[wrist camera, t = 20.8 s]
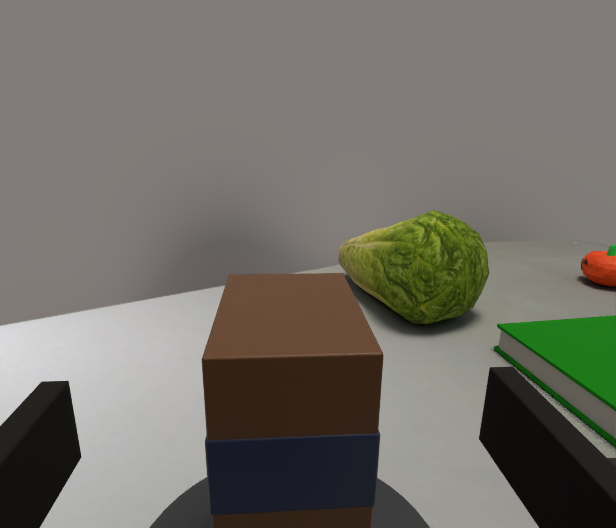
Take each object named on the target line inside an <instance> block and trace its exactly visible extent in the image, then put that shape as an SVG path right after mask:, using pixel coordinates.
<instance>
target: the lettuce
mask: <svg viewBox="0 0 616 528" xmlns="http://www.w3.org/2000/svg"><path fill="white" fill-rule="evenodd" d="M339 263H340V265H341V266H342V268H343V269H344V270H345V271H346V273H347V274H348V275H349V276H350V278H351V279H352V280H353V282H354V283H355V284H357V285H358V286H359V287H360V288H362V289H363V290H365V291H366V292H368V293H369V294H371V295H372V296H374V297H375V298H377V299H378V300H380V301H382V302H383V303H385V304H386V305H387V306H388V307H390V308H391V309H392V310H394V311H395V312H397V313H398V314H399V315H401V316H402V317H404V318H405V319H407V320H408V321H410V322H411V323H416V324H430V323H434V322H437V321H440V320H444V319H449V318H455V317H460V316H461V315H463V314H464V313H465V312H467V311H468V310H470V309H471V308H473V307H474V305H475V303H476V301H477V300H478V298H479V296H480V295H481V293H482V290H483V288H484V285H485V283H486V280H487V278H488V275H489V268H488V257H487V251H486V249H485V246H484V244H483V242H482V239H481V237H480V234H479V233H477V232H476V231H475V230H474V229H472V228H471V227H470V226H468V225H467V224H466V223H464V222H462V221H461V220H459V219H457V218H455V217H453V216H451V215H448V214H444V213H441V212H438V211H434V210H433V211H431V212H428V213H425V214H422V215H420V216H417V217H415V218H412V219H409V220H406V221H402V222H400V223H397V224H395V225H393V226H390V227H388V228H380V229H375V230H373V231H370V232H368V233H366V234H364V235H361V236H359V237H355V238H352V239H349V240H347V241H346V242H345V243H344V244H343V245H342V246H341V247H340V248H339Z"/></svg>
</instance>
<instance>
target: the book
mask: <svg viewBox="0 0 616 528" xmlns="http://www.w3.org/2000/svg"><path fill="white" fill-rule="evenodd" d="M497 327H498V328H499V329H501V335H500V341H499V346H494V350H495V351H497V352H498V353H499V354H500V355H502V356H503V357H504V358H505V359H507V360H508V361H509V362H510V363H512V364H513V365H514V366H515V367H517V368H518V369H519V370H520V371H522V372H523V373H524V374H525V375H527V376H528V377H529V378H530V379H532V380H533V381H534V382H535V383H537V384H538V385H539V386H540V387H542V388H543V389H544V390H545V391H547V392H548V393H549V394H550V395H551V396H553V397H554V398H555V399H556V400H558V401H559V402H560V403H561V404H563V405H564V406H565V407H566V408H568V409H569V410H570V411H571V412H573V413H574V414H575V415H576V416H578V417H579V418H580V419H581V420H583V421H584V422H585V423H586V424H588V425H589V426H590V427H591V428H593V429H594V430H595V431H596V432H598V433H599V434H600V435H601V436H603V437H604V438H605V439H606V440H608V441H609V442H610V443H611V444H612V445H614V446H615V447H616V316H604V317H590V318H576V319H562V320H548V321H535V322H521V323H507V324H497Z"/></svg>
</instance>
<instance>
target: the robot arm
mask: <svg viewBox="0 0 616 528" xmlns="http://www.w3.org/2000/svg"><path fill="white" fill-rule="evenodd" d="M479 440H480V441H481V443H482V444H483V445H484V447H485V448H486V450H487V451H488V453H489V454H490V456H491V457H492V459H493V460H494V462H495V463H496V465H497V466H498V468H499V469H500V471H501V472H502V473H503V475H504V476H505V478H506V479H507V481H508V482H509V484H510V485H511V487H512V488H513V490H514V491H515V493H516V494H517V496H518V497H519V498H520V500H521V501H522V503H523V504H524V506H525V507H526V509H527V510H528V512H529V513H530V515H531V516H532V518H533V519H534V521H535V522H536V524H537V525H538V526H539V528H616V458H606V457H605V456H604V455H603V454H602V453H601V452H600V451H599V450H598V449H597V448H596V447H595V446H594V445H593V444H592V443H591V442H590V441H589V440H588V439H587V438H586V437H585V436H583V435H582V434H581V433H580V432H579V431H578V430H577V429H576V428H575V427H574V426H573V425H572V424H571V423H570V422H569V421H568V420H567V419H566V418H565V417H564V416H563V415H562V414H561V413H560V412H559V411H558V410H557V409H556V408H555V407H554V406H552V405H551V404H550V403H549V402H548V401H547V400H546V399H545V398H544V397H543V396H542V395H541V394H540V393H539V392H538V391H537V390H536V389H535V388H534V387H533V386H532V385H531V384H530V383H529V382H528V381H527V380H526V379H525V378H524V377H523V376H521V375H520V374H519V373H518V372H517V371H516V370H515V369H514V368H513V367H490V370H489V376H488V383H487V389H486V396H485V403H484V409H483V416H482V422H481V429H480V436H479ZM80 458H81V452H80V446H79V440H78V434H77V428H76V422H75V416H74V411H73V405H72V399H71V393H70V387H69V381H50V382H41V383H40V384H39V385H38V386H37V387H36V388H35V390H34V391H33V392H32V393H31V394H30V395H29V396H28V397H27V398H26V399H25V400H24V401H23V402H22V404H21V405H20V406H19V407H18V408H17V409H16V410H15V411H14V412H13V413H12V414H11V415H10V416H9V417H8V419H7V420H6V421H5V422H4V423H3V424H2V425H1V426H0V528H40V526H41V524H42V523H43V521H44V519H45V518H46V516H47V514H48V513H49V511H50V509H51V508H52V506H53V504H54V502H55V501H56V499H57V497H58V496H59V494H60V492H61V491H62V489H63V487H64V486H65V484H66V482H67V480H68V479H69V477H70V475H71V474H72V472H73V470H74V469H75V467H76V465H77V464H78V462H79V460H80Z"/></svg>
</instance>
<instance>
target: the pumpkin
mask: <svg viewBox="0 0 616 528" xmlns="http://www.w3.org/2000/svg"><path fill="white" fill-rule="evenodd" d="M581 261H582V262H581V270H582V271H583V274H584V275H585V276H586V277H587V278H588V279H590V280H591V281H593V282H595V283H598V284H601V285H606V286H616V246H615V245H611V246H610V248H609V250H608V252H605V251H592V252H590V253H588V254H587V255H586V256H585V257H584V258H583V259H582V260H581Z"/></svg>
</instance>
